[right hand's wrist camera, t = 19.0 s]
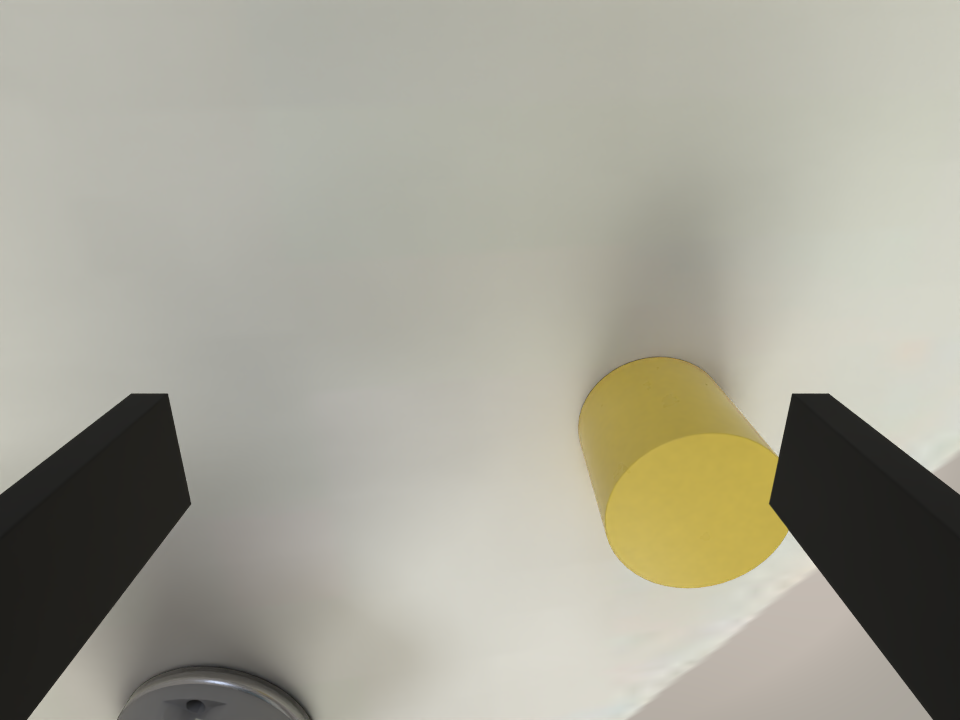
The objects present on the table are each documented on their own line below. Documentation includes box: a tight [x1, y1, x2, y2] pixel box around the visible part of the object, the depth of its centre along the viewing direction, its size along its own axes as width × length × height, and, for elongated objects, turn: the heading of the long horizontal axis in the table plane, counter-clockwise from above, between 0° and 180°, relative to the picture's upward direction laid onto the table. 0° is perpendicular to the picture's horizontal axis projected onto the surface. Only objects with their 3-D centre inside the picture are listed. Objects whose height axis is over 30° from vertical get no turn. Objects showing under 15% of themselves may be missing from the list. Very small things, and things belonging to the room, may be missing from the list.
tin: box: [578, 357, 788, 588], centre depth 32 cm, size 9×9×9 cm
